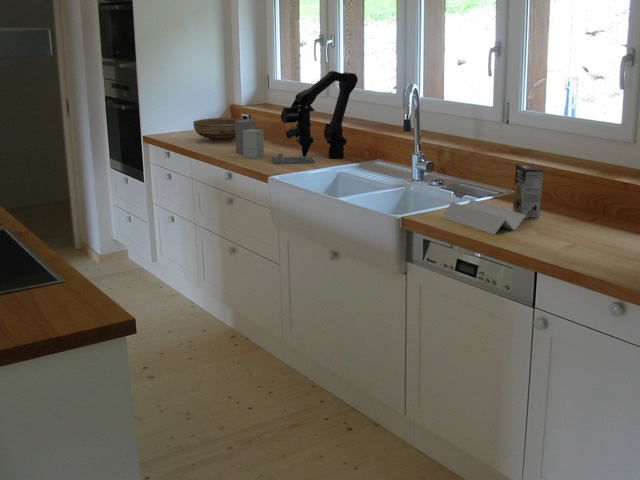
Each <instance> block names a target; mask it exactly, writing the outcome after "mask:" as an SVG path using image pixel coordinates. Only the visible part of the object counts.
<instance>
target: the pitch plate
mask: <svg viewBox="0 0 640 480" xmlns="http://www.w3.org/2000/svg"><path fill="white" fill-rule="evenodd" d="M271 160H272V162H273V165H296V164H297V165H298V164H299V165H300V164H301V165H302V164H315V162H316V161H315V159H314V158H313V156H309V155H308V159H301V158H300V156H283V153H277V156H276V157H275V156H273V157H272V159H271Z"/></svg>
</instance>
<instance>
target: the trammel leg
mask: <svg viewBox="0 0 640 480" xmlns="http://www.w3.org/2000/svg"><path fill="white" fill-rule="evenodd" d="M299 146H300V147H299V149H300V151H299V153H300V154H299V155H300V156H299V157H300V158H301V159H308V156H309V155H308V154H309V153H307V155H306V157H303V152H302V147H301V145H300V144H299Z"/></svg>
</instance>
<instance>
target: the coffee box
mask: <svg viewBox="0 0 640 480" xmlns="http://www.w3.org/2000/svg"><path fill="white" fill-rule="evenodd" d="M514 175H515V176H514V189H513V190H514V191H513V203H512V204H513V207H512V211H514V212H517V213H521V214H524V215H526V216H525V218H524V219H529V218H528V217H536V218H540V214H541V213H540V212H541V202H542V189H543V177H544V169H542V168H541V167H539V166H537V165H535V164H525V163H524V164H523V163H522V164H520V163H519V164H515V174H514Z"/></svg>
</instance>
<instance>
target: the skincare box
mask: <svg viewBox="0 0 640 480" xmlns="http://www.w3.org/2000/svg"><path fill="white" fill-rule="evenodd" d="M256 125H257V124H256V120H254V119H251V118H248V119H247V118H246V119H244V120H237V121H235V153H236V154H238V155H244V152H243V131H245V130H248V129H257V128H256Z"/></svg>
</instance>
